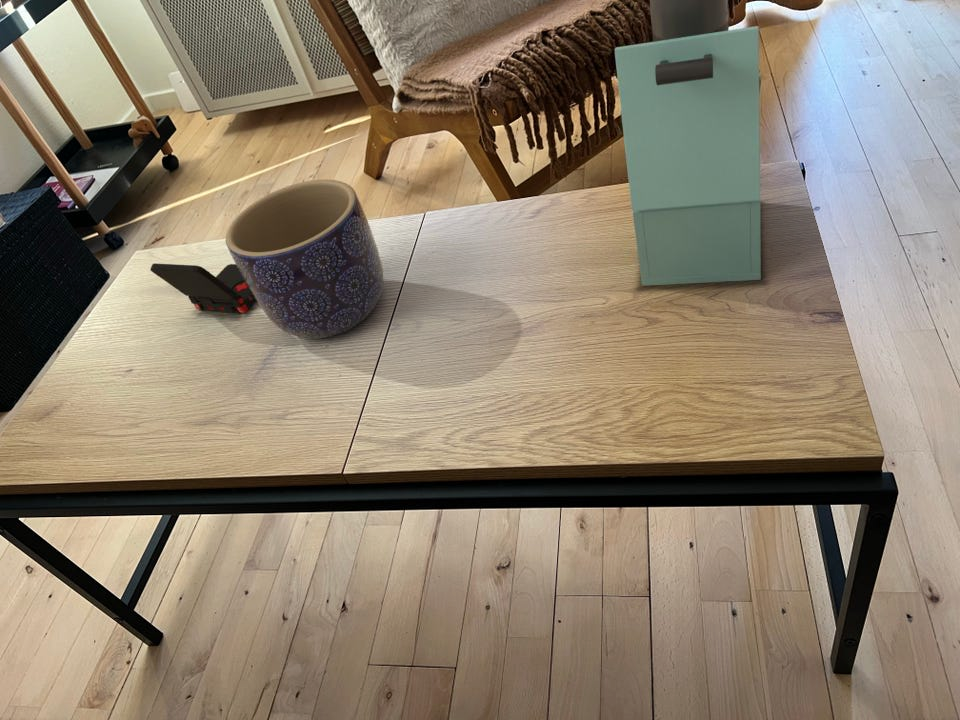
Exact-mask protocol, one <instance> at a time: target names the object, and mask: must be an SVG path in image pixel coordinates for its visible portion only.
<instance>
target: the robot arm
mask: <svg viewBox="0 0 960 720" xmlns="http://www.w3.org/2000/svg"><path fill="white" fill-rule="evenodd" d="M649 6H650V7H649V11H650V20H651V21H650V22H651V31H652V42H656V41H663V40H669V39H676V38H682V37H689V36H696V35H702V34H709V33H715V32H722V31H729V1H728V0H649ZM761 78H762V77H761V70H760V69H759V94H760V95H761V83H762V80H761Z"/></svg>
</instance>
